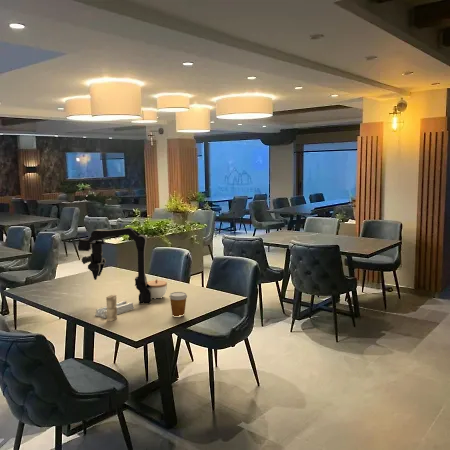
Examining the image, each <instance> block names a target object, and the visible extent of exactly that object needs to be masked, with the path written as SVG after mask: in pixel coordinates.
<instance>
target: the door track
mask: <svg viewBox="0 0 450 450" xmlns="http://www.w3.org/2000/svg"><path fill="white" fill-rule="evenodd" d="M131 309H133V310H134V309H135V308H134V302H131V301H130V302H127V300H122V301H120V302H117V315H120V314H123V313H126V312H129V311H128V310H130V311H132V310H131ZM95 316H97V317H100V318H102V319H107V305H106V306H103V307H99V308H97V309H95Z"/></svg>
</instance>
